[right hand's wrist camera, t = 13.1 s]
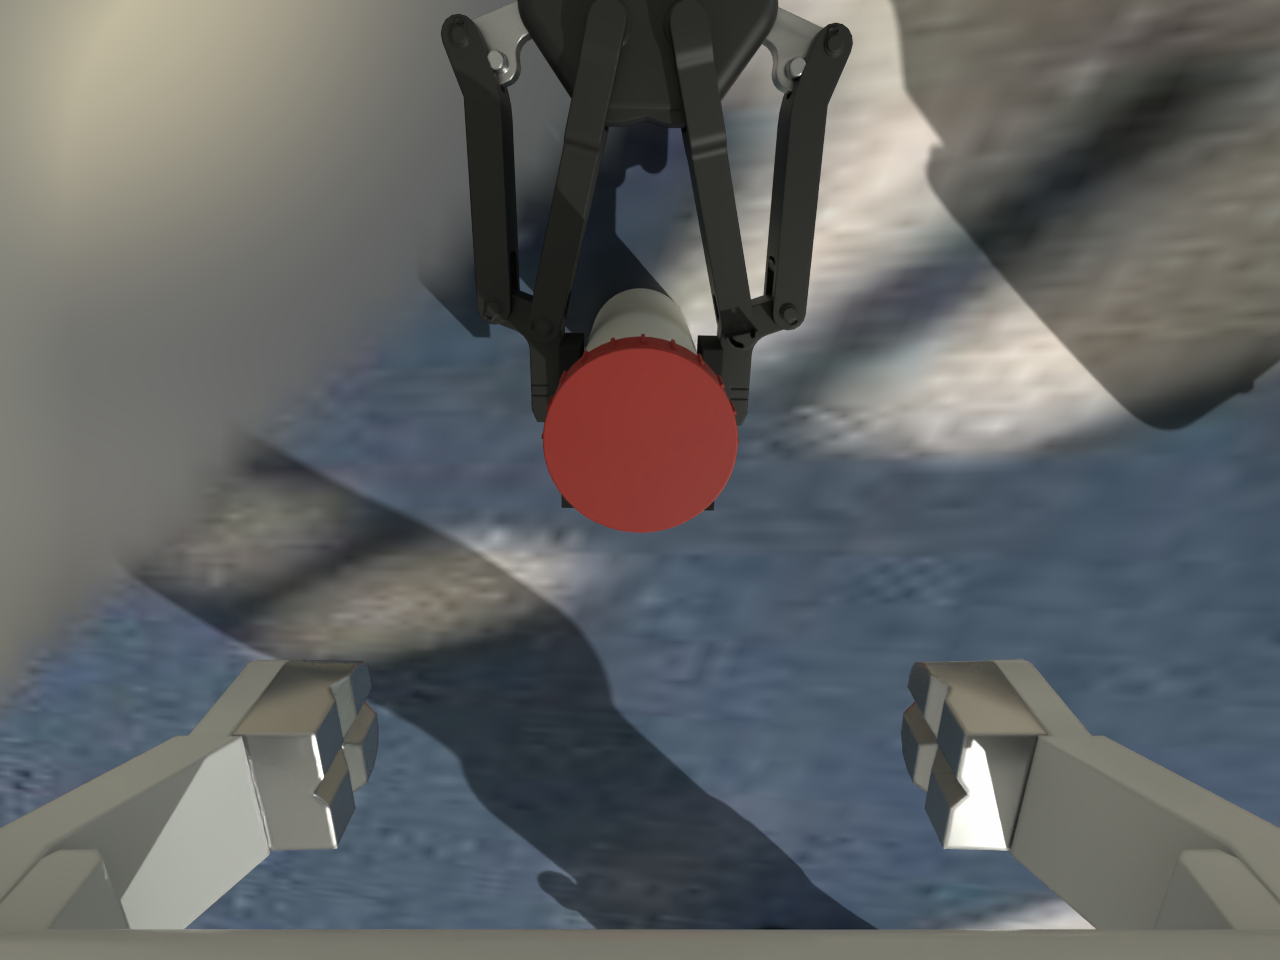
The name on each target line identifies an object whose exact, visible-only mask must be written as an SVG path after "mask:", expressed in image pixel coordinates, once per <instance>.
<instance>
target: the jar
mask: <svg viewBox="0 0 1280 960" xmlns="http://www.w3.org/2000/svg"><path fill="white" fill-rule="evenodd" d="M641 334H645V337H654V338H660V339H664V340H668V341H671V339H674V340H675V343H676V344H678V345H681V346H683V347H685V348H687V349H688V350H690V351H691V352H693V353H695V354H696V355H697V352H696V349H695V346H694V343H693V340H692V337H691V334H690V331H689V328H688V325H687V322H686V319H685V317H684V315H683V313H682V311H681V310H680V308H679V307H678V306H677V304H676V303H675V302H674V301H672V300H671V299H670V298H669V297H667V296H666V295H664V294H662V293H660V292H658V291H655V290H651V289H644V288H637V289H630V290H626V291H623V292H621V293H619V294H617V295H615V296H614V297H612V298H611V299H609V300H608V301H607V302H606V303H605V304H604V306H603V307H602V308H601V309H600V311H599V313H598V314H597V317H596V319H595V321H594V324H593V327H592V330H591V333H590V336H589V339H588V342H587V345H586V348H585V351H586V350H587V351H588V352H589V351H591V350H592V349H594V348H596V347H598V346H600V345H602V344H605V343H607V342H610V340H611V338H615V340H617V339H621V338H626V337H637V336H641Z"/></svg>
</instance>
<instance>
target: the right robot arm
mask: <svg viewBox="0 0 1280 960" xmlns="http://www.w3.org/2000/svg"><path fill="white" fill-rule="evenodd" d="M371 688H372V683H371V678H370V673H369V667H368V666H367V665H366V664H365V663H364V662H363V661H330V660H292V661H291V660H256V661H253V662H250V663H249V664H248V665H247V666H246V667H245V668H244V669H243V670H242V672H241V673H240V674H239V675H238V677H237V678H236V679H235V680H234V681H233V683H232V684H231V685H230V686H229V687H228V689H227V690H226V691H225V692H224V693H223V695H222V696H221V697H220V698H219V699H218V701H217V702H216V703H215V704H214V705H213V707H212V708H211V709H210V710H209V711H208V713H207V714H206V715H205V716H204V717H203V719H202V720H201V721H200V722H199V723H198V725H197V726H196V727H195V728H194V729H193V731H192V732H191V733H190V734H189V735H188V736H175V737H173V738H172V739H170V740H168V741H166V742H164V743H162V744H160V745H158V746H156V747H154V748H152V749H151V750H149V751H147V752H145V753H143V754H141V755H139V756H137V757H135V758H133V759H131V760H129V761H128V762H126V763H124V764H122V765H120V766H118V767H116V768H114V769H112V770H110V771H108V772H106V773H105V774H103V775H101V776H99V777H97V778H95V779H93V780H91V781H89V782H87V783H85V784H84V785H82V786H80V787H78V788H76V789H74V790H72V791H70V792H68V793H66V794H64V795H62V796H61V797H59V798H57V799H55V800H53V801H51V802H49V803H47V804H45V805H43V806H41V807H40V808H38V809H36V810H34V811H32V812H30V813H28V814H26V815H24V816H22V817H20V818H18V819H17V820H15V821H13V822H11V823H9V824H7V825H5V826H3V827H1V828H0V960H1280V828H1278V827H1276V826H1274V825H1273V824H1271V823H1269V822H1267V821H1265V820H1263V819H1261V818H1259V817H1257V816H1255V815H1253V814H1252V813H1250V812H1248V811H1246V810H1244V809H1242V808H1240V807H1238V806H1236V805H1234V804H1232V803H1231V802H1229V801H1227V800H1225V799H1223V798H1221V797H1219V796H1217V795H1215V794H1213V793H1211V792H1210V791H1208V790H1206V789H1204V788H1202V787H1200V786H1198V785H1196V784H1194V783H1192V782H1190V781H1189V780H1187V779H1185V778H1183V777H1181V776H1179V775H1177V774H1175V773H1173V772H1171V771H1169V770H1168V769H1166V768H1164V767H1162V766H1160V765H1158V764H1156V763H1154V762H1152V761H1150V760H1149V759H1147V758H1145V757H1143V756H1141V755H1139V754H1137V753H1135V752H1133V751H1131V750H1129V749H1128V748H1126V747H1124V746H1122V745H1120V744H1118V743H1116V742H1114V741H1112V740H1110V739H1108V738H1107V737H1105V736H1091V734H1090V733H1089V732H1088V731H1087V729H1086V728H1085V727H1084V726H1083V725H1082V723H1081V722H1080V721H1079V720H1078V719H1077V717H1076V716H1075V715H1074V714H1073V713H1072V711H1071V710H1070V709H1069V708H1068V707H1067V705H1066V704H1065V703H1064V702H1063V701H1062V699H1061V698H1060V697H1059V696H1058V695H1057V693H1056V692H1055V691H1054V690H1053V689H1052V687H1051V686H1050V685H1049V684H1048V683H1047V681H1046V680H1045V679H1044V678H1043V677H1042V675H1041V674H1040V673H1039V672H1038V671H1037V669H1036V668H1035V667H1034V666H1033V665H1032V664H1031V663H1030V662H1028V661H1026V660H1024V659H1011V660H987V661H959V662H915V663H914V665H913V667H912V669H911V671H910V676H909V682H908V688H909V690H910V692H911V694H912V696H913V698H914V700H915V702H914V703H913V704H912V705H911V706H910V707H909V708H908V709H907V710H906V711H905V712H904V713H903V721H902V730H901V739H902V751H903V756H904V760H905V764H906V768H907V770H908V772H909V775H910V777H911V779H912V782H913V783H914V784H916V785H917V786H918V787H920V788H921V789H922V790H924V791H925V792H927V797H926V803H925V810H926V812H927V814H928V816H929V819H930V821H931V823H932V825H933V827H934V829H935V831H936V833H937V836H938V838H939V840H940V842H941V844H942V846H943V848H944V849H975V850H1011V851H1010V854H1011V855H1012V856H1013V857H1014V858H1015V859H1017V860H1018V861H1019V862H1020V863H1021V864H1022V865H1024V866H1025V867H1026V868H1027V869H1028V870H1029V871H1030V872H1032V873H1033V874H1034V875H1035V876H1036V877H1037V878H1038V879H1040V880H1041V881H1042V882H1043V883H1044V884H1045V885H1046V886H1048V887H1049V888H1050V889H1051V890H1052V891H1053V892H1054V893H1056V894H1057V895H1058V896H1059V897H1060V898H1061V899H1063V900H1064V901H1065V902H1066V903H1067V904H1068V905H1069V906H1071V907H1072V908H1073V909H1074V910H1075V911H1076V912H1077V913H1079V914H1080V915H1081V916H1082V917H1083V918H1084V919H1085V920H1087V921H1088V922H1089V923H1090V924H1091V925H1092V926H1093V927H1095V928H1096V929H1097V930H1096V929H1095V930H744V929H317V930H231V929H184V928H186V927H187V926H188V925H189V924H190V923H191V922H192V921H194V920H195V919H196V918H197V917H198V916H199V915H201V914H202V913H203V912H204V911H205V910H206V909H207V908H209V907H210V906H211V905H212V904H213V903H214V902H215V901H217V900H218V899H219V898H220V897H221V896H222V895H224V894H225V893H226V892H227V891H228V890H229V889H230V888H232V887H233V886H234V885H235V884H236V883H237V882H238V881H240V880H241V879H242V878H243V877H244V876H245V875H247V874H248V873H249V872H250V871H251V870H252V869H253V868H255V867H256V866H257V865H258V864H259V863H260V862H261V861H263V860H264V859H265V858H266V857H267V856H268V855H270V851H269V850H304V849H337V847H338V844H339V842H340V840H341V838H342V836H343V834H344V831H345V829H346V827H347V825H348V823H349V821H350V819H351V816H352V814H353V812H354V810H355V803H354V797H353V792H355V791H356V790H358V789H359V788H360V787H362V786H363V785H364V784H366V783H367V782H368V779H369V777H370V775H371V772H372V770H373V768H374V764H375V760H376V755H377V750H378V741H379V727H378V720H377V713H376V712H375V711H374V710H373V709H372V708H371V707H370V706H369V705H368V704H367V703H366V702H365V700H366V698H367V696H368V694H369V692H370V690H371Z"/></svg>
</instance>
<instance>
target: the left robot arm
mask: <svg viewBox="0 0 1280 960" xmlns="http://www.w3.org/2000/svg"><path fill="white" fill-rule="evenodd" d="M441 36H442V42H443V45H444V47H445V50H446V52H447V55H448V58H449V60H450V63H451V65H452V68H453V70H454V73H455V76H456V78H457V81H458V83H459V86H460V89H461V91H462V94H463V96H464V108H465V123H466V139H467V155H468V170H469V186H470V202H471V217H472V233H473V248H474V264H475V280H476V295H477V309H478V312H479V315H480V316H481V318H482V319H483V320H484V321H486V322H487V323H490V324H494V325H495V324H500V325H503V326H506V327H508V328H511V329H513V330H516V331H518V332H520V333H521V334H522V335H523V336H524V337H525V338H526V340H527V341H528V344H529V348H530V368H531V394H532V396H531V397H532V411H533V413H534V415H535V418H536V420H537V422H545V419H546V415H547V412H548V410H546V406H547V404H548V402H549V399H550V397H551V396H553V397H554V394H555V392H556V390H557V387H558V385H559V381H560V378H561V376H562V374H563V372H564V371H568V370H569V369H570V368H571V367H572V365H573V364H575V363H576V362H577V361H578V360H579V359H580V358H581V357H582V356H583V353H584V333H565V321H566V319H567V317H566V316H567V312H568V307H569V303H570V298H571V294H572V289H573V285H574V280H575V276H576V271H577V267H578V262H579V258H580V253H581V249H582V244H583V240H584V235H585V231H586V226H587V222H588V217H589V213H590V208H591V204H592V199H593V195H594V190H595V186H596V181H597V177H598V172H599V168H600V163H601V159H602V155H603V152H604V148H605V144H606V139H607V135H608V130H609V127H625V126H628V125H632V124H636V123H639V122H643V121H648V122H651V123H654V124H657V125H660V126H663V127H666V128H681V131H682V136H683V142H684V147H685V152H686V156H687V160H688V165H689V170H690V176H691V182H692V187H693V193H694V198H695V204H696V209H697V215H698V221H699V226H700V232H701V237H702V243H703V248H704V254H705V259H706V265H707V271H708V276H709V282H710V287H711V293H712V298H713V304H714V310H715V315H716V321H717V325H718V328H717V336H700V335H698V344H697V354H698V353H699V354H701V356H702V359H703V361H704V362H706V364H707V365H708V366H709V367H710V368H711V369H712V370H713V371H714V373H715V374H716V376H717V375H720V376H721V378H722V381H723V383H724V386H725V387H724V390H725V392H726V394H727V397H728V399H729V401H732V403H733V406H734V408H735V410H736V415H734V416H735V419H736V425H742V423H743V421H744V419H745V417H746V415H747V408H748V395H749V382H750V368H751V355H752V350H753V347H754V345H755V344H756V342H757V341H758V340H759V339H761V338H762V337H764V336H766V335H768V334H771V333H774V332H777V331H780V330H783V329H784V330H792V329H795V328H797V327H798V326H800V325H801V323H802V322H803V321H804V318H805V315H806V306H807V296H808V287H809V277H810V268H811V258H812V249H813V239H814V230H815V220H816V211H817V201H818V191H819V182H820V172H821V163H822V153H823V144H824V134H825V125H826V115H827V106H828V103H829V101H830V98H831V96H832V94H833V92H834V89H835V87H836V85H837V82H838V80H839V78H840V75H841V73H842V71H843V69H844V66H845V64H846V62H847V59H848V57H849V55H850V52H851V49H852V45H853V41H852V35H851V33H850V31H849V29H848V28H847V27H846V26H844V25H843V24H839V23H833V24H829V25H827V26H826V27H824V28H822V27H820V26H817V25H815V24H813V23H811V22H809V21H807V20H805V19H802V18H800V17H798V16H796V15H794V14H792V13H790V12H787V11H785V10H783V9H781V8H779V7H778V0H518V1H516V2H513V3H511V4H509V5H506V6H504V7H501V8H499V9H497V10H494V11H492V12H489V13H487V14H485V15H482V16H480V17H477V18H475V19H472V20H471V19H469V18H468V17H467V16H464V15H461V14H456V15H451V16H450V17H449V18H447V19H446V20H445V22H444V24H443V25H442V30H441ZM530 39H533V40H534V42H535V43H536V45H537V46H538V48H539V50H540V51H541V53H542V54H543V56H544V57H545V59H546V60H547V62H548V63H549V65H550V66H551V68H552V70H553V71H554V73H555V74H556V76H557V77H558V79H559V80H560V82H561V83H562V85H563V86H564V88H565V89H566V91H567V93H568V94H569V96H570V97H571V104H570V109H569V114H568V119H567V124H566V129H565V136H564V146H563V151H562V156H561V161H560V166H559V171H558V176H557V181H556V186H555V191H554V196H553V201H552V206H551V210H550V215H549V220H548V225H547V230H546V235H545V240H544V245H543V250H542V255H541V260H540V265H539V269H538V274H537V279H536V284H535V289H534V294H533V295H530V294H527V293H525V292H522V291H520V284H519V260H518V237H517V214H516V190H515V167H514V144H513V121H512V110H511V103H510V98H509V93H508V89H507V87H508V86H510V85H512V84H514V83H515V82H516V81H517V80H518V78H519V76H520V71H521V65H520V52H521V49H522V47H523V45H524V44H525V43H526V42H527V41H529V40H530ZM761 44H763V45H764V46H766V47H767V48H768V49H769V50H770V52H771V54H772V57H773V68H772V81H773V83H774V85H775V87H776V88H777V89H778V90H780V91H781V92H783V93H785V94H784V97H783V100H782V104H781V108H780V113H779V120H778V129H777V141H776V153H775V164H774V176H773V188H772V200H771V212H770V224H769V236H768V248H767V260H766V272H765V284H764V295H763V296H760V297H757V298H754V299H751V298H750V291H749V285H748V279H747V273H746V267H745V260H744V254H743V248H742V242H741V236H740V229H739V223H738V217H737V211H736V205H735V198H734V192H733V186H732V180H731V174H730V167H729V161H728V155H727V146H726V132H725V126H724V119H723V113H722V107H721V101H722V99H723V98H724V96H725V95H726V93H727V92H728V91H729V89H730V88H731V86H732V85H733V84H734V82H735V81H736V79H737V78H738V77H739V75H740V74H741V72H742V71H743V70H744V68H745V67H746V65H747V64H748V63H749V61H750V60H751V58H752V57H753V56H754V54H755V53H756V51H757V50H758V49H759V47H760V46H761ZM562 508H574V507H573V506H572V505H571V504H570V503H569V502H568V501H567V500H566V499H565V498H564V497H563V495H562ZM704 510H714V501H713V502H712V503H711V504H710V505H709V506H708V507H707V508H706V509H704Z"/></svg>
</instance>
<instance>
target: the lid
mask: <svg viewBox="0 0 1280 960" xmlns="http://www.w3.org/2000/svg"><path fill="white" fill-rule="evenodd" d="M724 387H725V386H724V383H723V381H722V378H721V376H720V375H717V376H716V374H715V373H714V371H713V370H712V369H711V368H710V367H709V366H708V365H707V364H706V362H704V361H703V359H702V356H701V354H699V353H698V354H697V355H696V354H695V353H693V352H691V351H690V350H688V349H687V348H685V347H683V346H681V345H678V344H676V343H675V340H674V339H671V341H668V340H664V339H660V338H654V337H645V334H641V336H637V337H626V338H621V339H617V340H615V338H611V340H610V342H607V343H605V344H602V345H600V346H598V347H596V348H594V349H592V350H591V351H589V352H588V351H587V350H586V351H584V353H583V356H582V357H581V358H580V359H579V360H578V361H577V362H576V363H575V364H573V365H572V367H571V368H570V369H569V370H568V371H564V372H563V374H562V376H561V378H560V381H559V385H558V387H557V390H556V392H555V394H554V397H553V396H551V397H550V399H549V402H548V404H547V406H546V410H548V412H547V415H546V419H545V423H544V431H543V434H542V439H543V449H544V456H545V461H546V464H547V468H548V471H549V473H550V475H551V478H552V480H553V482H554V483H555V485H556V487H557V488H558V490H559V492H560V493H561V494H562V495H563V497H564V498H565V499H566V500H567V501H568V502H569V503H570V504H571V505H572V506H573V507H574V508H575V509H576V510H578V511H579V512H580V513H582V514H583V515H584V516H586V517H587V518H589V519H591V520H593V521H595V522H596V523H599V524H601V525H604V526H606V527H609V528H613V529H616V530H621V531H627V532H655V531H660V530H665V529H669V528H672V527H675V526H678V525H680V524H682V523H684V522H686V521H688V520H690V519H692V518H693V517H695V516H696V515H698V514H700V513H701V512H702V511H703V510H704V509H706V508H707V507H708V506H709V505H710V504H711V503H712V502H713V501H714V500H715V499H716V498H717V497H718V495H719V494H720V493H721V491H722V490H723V488H724V487H725V485H726V483H727V481H728V479H729V478H730V475H731V473H732V470H733V467H734V464H735V460H736V456H737V448H738V444H739V440H738V430H737V425H736V419H735V416H734V415H736V410H735V408H734V406H733V403H732V401H729V399H728V397H727V394H726V392H725V390H724Z"/></svg>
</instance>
